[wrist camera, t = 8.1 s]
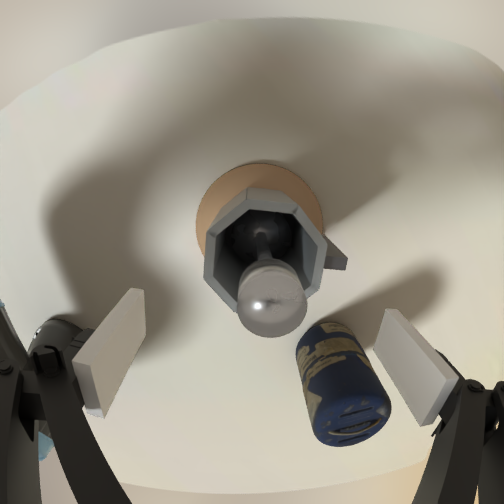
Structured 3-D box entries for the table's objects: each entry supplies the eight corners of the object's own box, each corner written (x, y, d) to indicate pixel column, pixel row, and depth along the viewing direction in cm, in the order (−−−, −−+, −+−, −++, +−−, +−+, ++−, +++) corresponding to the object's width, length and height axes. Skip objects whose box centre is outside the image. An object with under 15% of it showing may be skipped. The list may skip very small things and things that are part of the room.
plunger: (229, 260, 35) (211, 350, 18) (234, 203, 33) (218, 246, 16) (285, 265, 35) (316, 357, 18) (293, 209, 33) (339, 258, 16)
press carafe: (193, 279, 40) (169, 333, 27) (202, 158, 36) (175, 155, 22) (310, 290, 41) (336, 347, 28) (329, 172, 36) (371, 178, 23)
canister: (299, 317, 42) (326, 406, 25) (360, 318, 42) (410, 397, 25) (289, 369, 45) (306, 459, 28) (346, 368, 45) (380, 451, 28)
